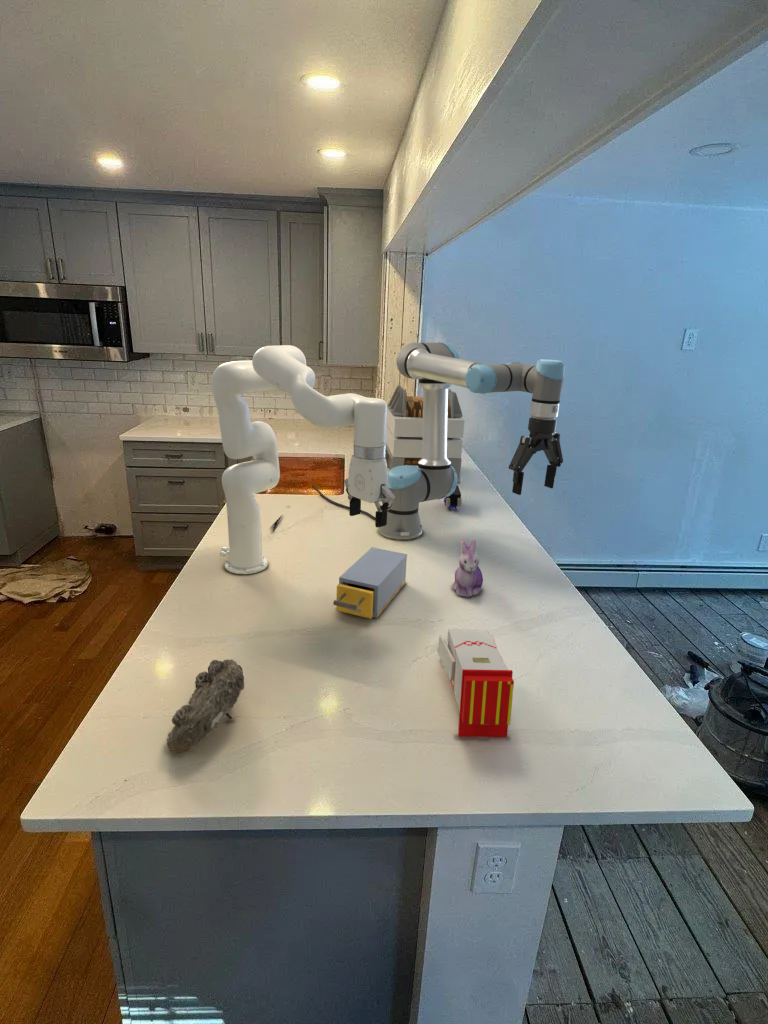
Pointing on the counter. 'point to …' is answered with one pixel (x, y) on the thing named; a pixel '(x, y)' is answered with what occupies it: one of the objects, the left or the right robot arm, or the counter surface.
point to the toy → (478, 682)
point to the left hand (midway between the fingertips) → (367, 520)
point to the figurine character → (453, 499)
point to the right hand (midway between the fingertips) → (532, 490)
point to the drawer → (355, 600)
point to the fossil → (206, 705)
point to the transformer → (419, 430)
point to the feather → (275, 523)
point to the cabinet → (378, 575)
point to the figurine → (468, 572)
